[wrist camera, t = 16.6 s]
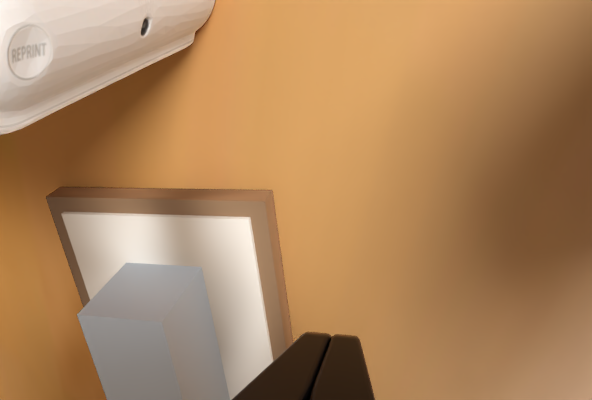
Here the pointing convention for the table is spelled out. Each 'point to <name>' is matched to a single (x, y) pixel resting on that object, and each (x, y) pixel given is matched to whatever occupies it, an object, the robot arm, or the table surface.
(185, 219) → the drawing board
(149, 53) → the photo printer
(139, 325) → the grey rectangular block
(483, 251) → the table surface
